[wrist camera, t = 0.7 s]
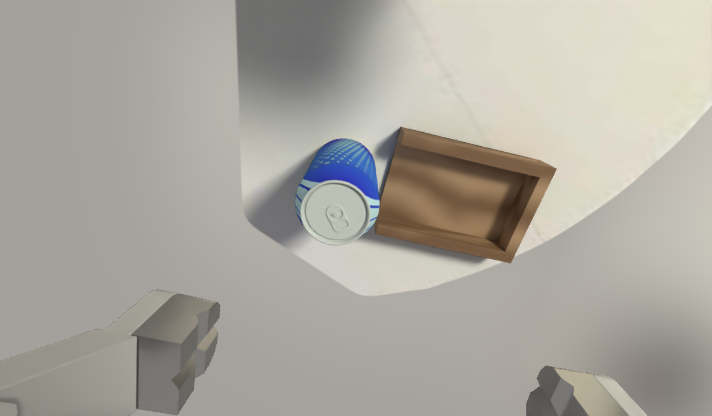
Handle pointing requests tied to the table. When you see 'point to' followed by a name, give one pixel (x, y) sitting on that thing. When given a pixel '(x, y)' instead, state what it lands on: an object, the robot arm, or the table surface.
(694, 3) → the table surface
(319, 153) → the beer can
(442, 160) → the open box
